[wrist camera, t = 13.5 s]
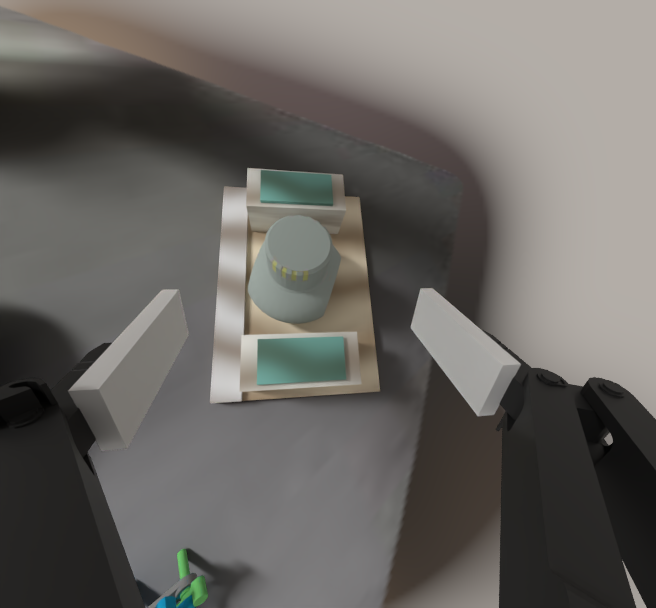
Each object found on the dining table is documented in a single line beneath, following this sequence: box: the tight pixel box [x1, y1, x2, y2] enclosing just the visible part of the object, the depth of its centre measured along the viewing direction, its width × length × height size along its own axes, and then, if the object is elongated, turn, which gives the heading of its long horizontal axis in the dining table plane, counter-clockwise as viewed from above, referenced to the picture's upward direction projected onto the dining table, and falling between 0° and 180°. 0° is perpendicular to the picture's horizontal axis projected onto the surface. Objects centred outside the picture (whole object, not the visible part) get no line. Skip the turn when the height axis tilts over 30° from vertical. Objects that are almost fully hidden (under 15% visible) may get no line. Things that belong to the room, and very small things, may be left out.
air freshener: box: [248, 215, 341, 324], centre depth 27 cm, size 11×8×10 cm
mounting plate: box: [210, 168, 380, 403], centre depth 30 cm, size 26×18×6 cm
